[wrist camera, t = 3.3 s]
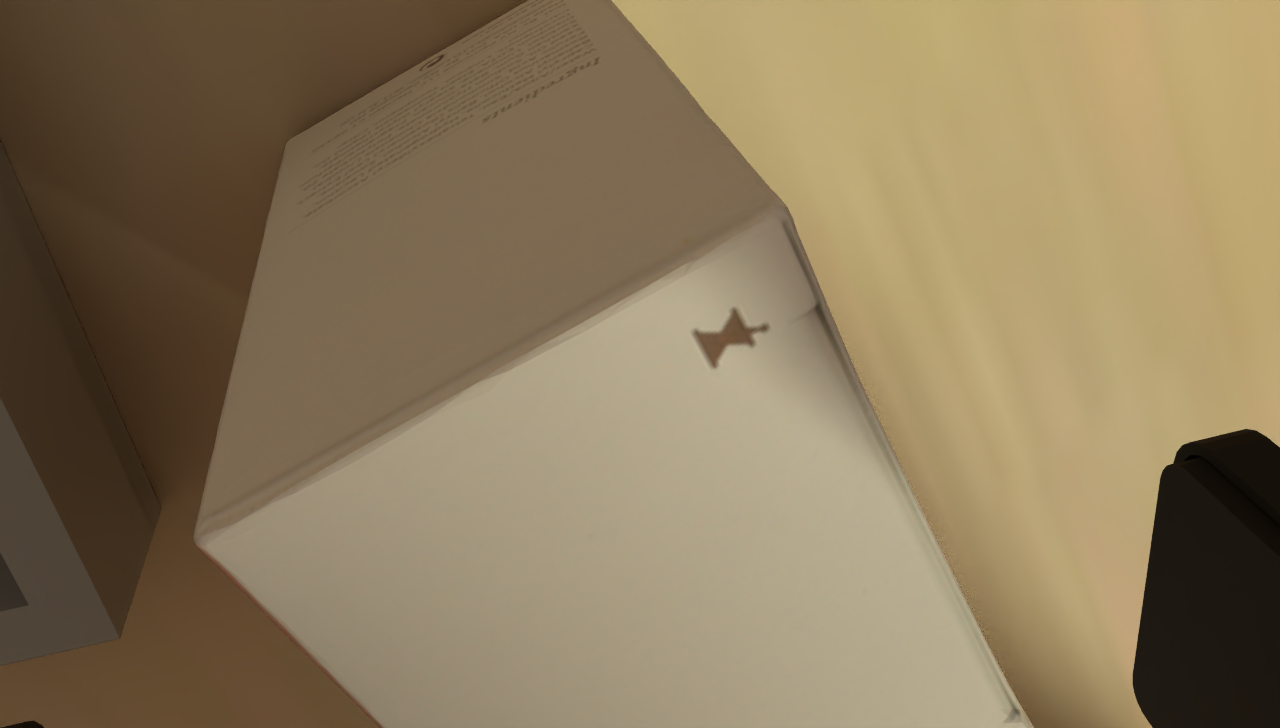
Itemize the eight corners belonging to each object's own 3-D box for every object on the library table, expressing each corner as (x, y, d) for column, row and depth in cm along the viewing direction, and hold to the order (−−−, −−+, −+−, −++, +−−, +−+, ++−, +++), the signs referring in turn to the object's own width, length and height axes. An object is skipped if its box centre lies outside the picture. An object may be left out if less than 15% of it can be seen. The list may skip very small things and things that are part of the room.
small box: (279, 135, 18) (154, 531, 9) (586, -43, 17) (785, 182, 8) (530, 480, 22) (621, 998, 13) (784, 343, 22) (1063, 778, 12)
